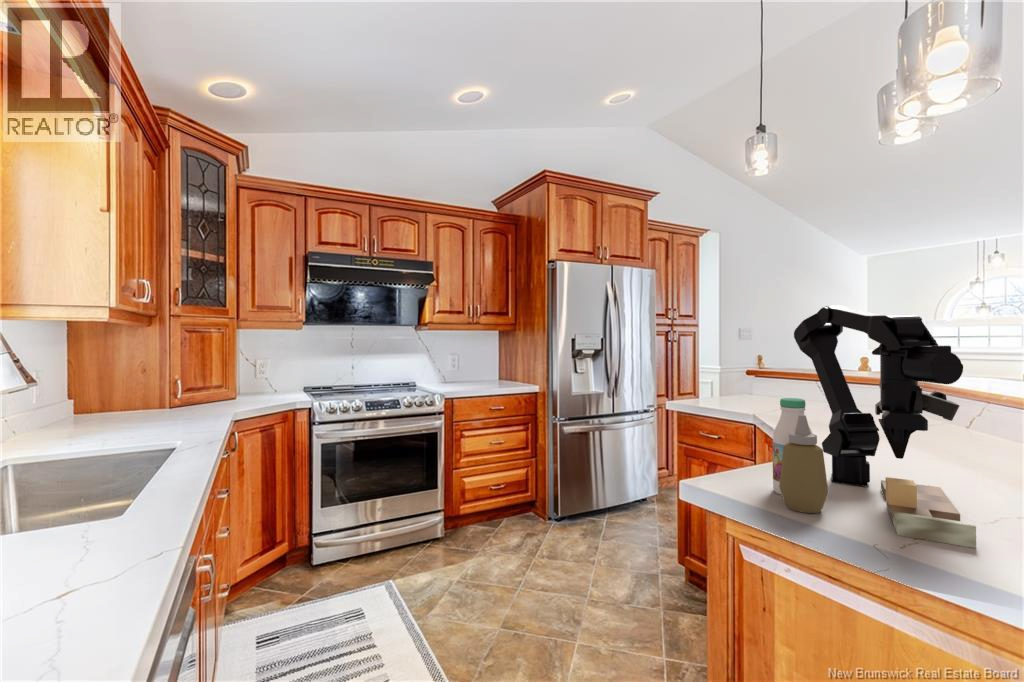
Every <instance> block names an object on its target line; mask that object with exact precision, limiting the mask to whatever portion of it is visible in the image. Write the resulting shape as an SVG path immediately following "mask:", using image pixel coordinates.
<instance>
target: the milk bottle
mask: <svg viewBox="0 0 1024 682" xmlns="http://www.w3.org/2000/svg"><path fill="white" fill-rule="evenodd" d="M779 405H780V410H781V414H780V417H779V420H778V422H777V423H776V426H775V428H774V431H773V436H772V486H773V487H772V489H773V492H775V493H776V494H778V495H780V496H782V493H781V490H780V488H779V484H780V475H781V465H782V455H783V446H784V445H786V444H787V443H791V442H789V433H791V432H795V429H796V425H797V421H798V417H799V415H805V411H806V400H805V399H802V398H797V397H795V398H794V397H787V398H785V397H783V398H780V400H779ZM808 426H809V424H808ZM809 429H810V433H811V434H813V431H812V429H811V428H810V426H809Z"/></svg>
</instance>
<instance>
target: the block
mask: <svg viewBox="0 0 1024 682" xmlns="http://www.w3.org/2000/svg"><path fill="white" fill-rule="evenodd" d="M885 481H886V499H885V500H886V503H887V502H888V504H889V505H896V506H904V507H911V508H917V486H916V484H917V483H915V481H914V480H912V479H905V478H896V477H887V476H885Z"/></svg>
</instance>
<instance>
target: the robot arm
mask: <svg viewBox="0 0 1024 682" xmlns="http://www.w3.org/2000/svg"><path fill="white" fill-rule="evenodd" d="M844 328H847V329H851V330H854V331H858V332H861V333H865V334H867V336H868V338H869V339H871V340H872V341H874V342H876V343H878V344H879V345H878V347H876V348H875V349H873V350H872V351H871V355H875V356H879V359H880V360H879V361H880V362H879V363H880V370H879V371H880V372H879V373H880V374H879V375H880V378H879V379H880V381H879V382H878V386H879V389H880V391H879V392H880V395H879V396H880V399H879V401H878V402H877V403H876V404H875V405H874V406H875V407H874V411H875V415H876V416H880V415H881V418H878V422H879V424H880V427H881V428H882V430H883V433H884V435H885V438H886V439H887V442H888V444H889V446H890V448H891V450H892V452H893V455H894V457H895V458H896V459H901V460H902V459H904V457H905V453H906V451H907V447H908V444H909V440H910V438H911V435H912V434H913V433H915V432H917V431H922V432H925V431H926V432H927V431H929V426H928V425H929V419H927V418H926V417H925V416H924V415H922V414H924V413H923V411H924V412H926V413H930V414H933V415H935V416H939V417H942V419H944V420H946V421H953V420H954V417H955V415H956V414H957V412H958V410H959V408H960V406H961V405H960V404H958V403H956V402H954V401H951V400H947V395H946V393H943V392H942V391H941V392H940V391H936V390H934V391H932V392H931V393H930V394H929V393H925V392H923V388H922V387H921V386H920V385H919V382H923V383H929V384H930V383H931V384H939V385H951V384H952V385H953V384H954V383H956V382H957V381H958V380H959V379H960V378H961V377H962V375H963V371H964V365H963V363H962V361H961V359H960V357H959V356H957V355H956V354H955V353H953V352H952V346H951V345H939V344H938V342H937V340H936V339H935V337H934V336H933V335H932V334H931V332H930V331H929V330H928V328H927V326H926V325H925V323H924V322H923V319H922V317H921V316H919V315H917V314H896V315H895V314H884V315H883V314H878V313H875V312H874V313H873V312H868V311H864V310H858V309H854V308H849V307H846V306H844V305H826V306H824V307H823V306H822V307H821V308H820V309H819V310H818V311H817V312H816V313H814V314H813V315H811V316H808V317H807V318H805V319H804V320H802V321H801V322H800V324H798V326H797V327H796V328H795V329H794V331H793V338H794V340H795V343H796V345H797V346H798V348H799V350H800V352H802V353H803V354H804V355H806V356H807V357H808V358H810V360H811V361H812V364H813V367H814V369H815V372H816V375H817V377H818V380H819V382H820V385H821V388H822V390H823V393H824V396H825V399H826V401H827V403H828V406H829V409H830V412H831V417H830V421H829V424H828V429H829V434H828V435H827V436H826V437H825V439H823V441H822V442H821V447H822V449H823V454H824V453H825V454H826V455H827V454H828V455H830V456H831V483H834V484H841V485H848V486H849V485H850V486H857V487H864V488H865V487H866V488H868V487H869V485H868V483H869V484H870V482H871V471H870V470H871V468H870V467H871V465H870V462H869V461H868V460H867V457H875V455H876V453H877V450H878V446H879V443H880V440H881V439H880V438H881V437H880V434H879V431H880V429H879V427H878V426H877V424H876V421H875V420H874V416H873V415H872V414H871V412H863V411H862V410H860V409H859V408H858V406H857V404H856V402H855V398H854V396H853V393H852V391H851V389H850V387H849V385H848V383H847V379H846V378H845V375H844V372H843V370H842V367H841V365H840V363H839V360H838V358H837V355H836V350H837V349H836V348H837V347H838V344H839V340H838V337H839V336H840V335H841V334H842V333H843V331H844Z"/></svg>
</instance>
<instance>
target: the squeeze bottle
mask: <svg viewBox="0 0 1024 682" xmlns="http://www.w3.org/2000/svg"><path fill="white" fill-rule="evenodd" d="M808 425H809V423H808V419H807V415H806V414H804V415H799V417H798V421H797V425H796V429H795V432H791V433H789V442H791V443H787V444H786V445H784V446H783V455H782V465H781V475H780V484H779V488H780V490H781V493H782V495H781V497H782V498H783V501H784V504H785V507H787V508H789V509H790V510H793V511H796V512H800V513H807V514H808V513H809V514H815V513H816V514H817V513H821V512H822V511H823V508H824V505H825V503H826V500H827V497H828V495H829V487H828V481H827V471H826V463H825V457H824V456H825V455H824V451H823V448H821V447H820V446H819V445H817V444H818V436H817V435H816V434H814V433H812V434H811V433H810V429H811V428H810V429H809V427H810V426H808Z"/></svg>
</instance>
